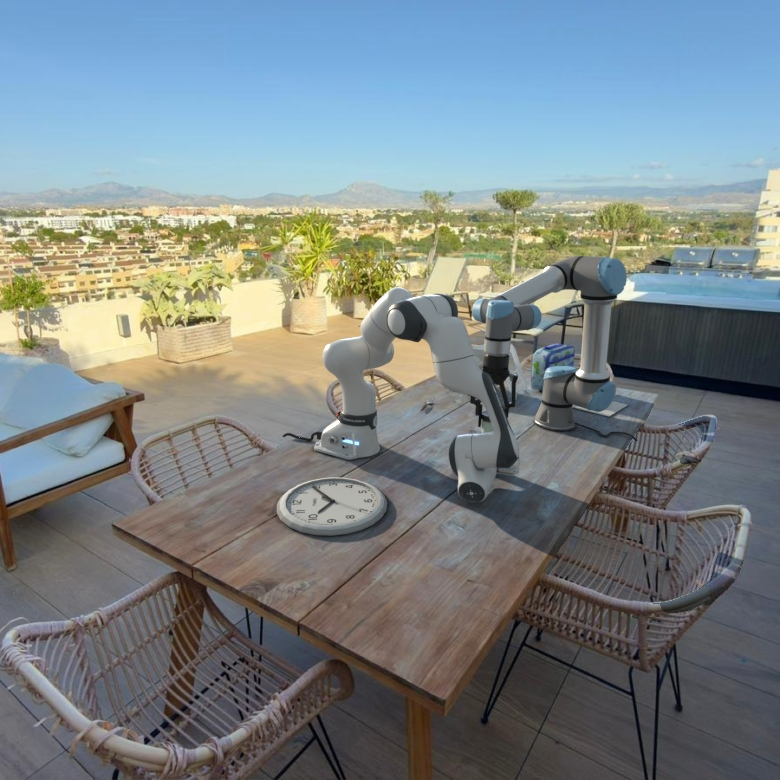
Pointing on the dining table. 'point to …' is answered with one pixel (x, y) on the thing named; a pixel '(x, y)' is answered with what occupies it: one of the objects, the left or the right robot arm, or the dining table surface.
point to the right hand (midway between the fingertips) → (490, 426)
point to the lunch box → (550, 361)
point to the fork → (427, 403)
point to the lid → (485, 416)
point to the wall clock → (331, 506)
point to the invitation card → (607, 409)
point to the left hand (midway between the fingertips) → (489, 450)
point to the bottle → (486, 426)
